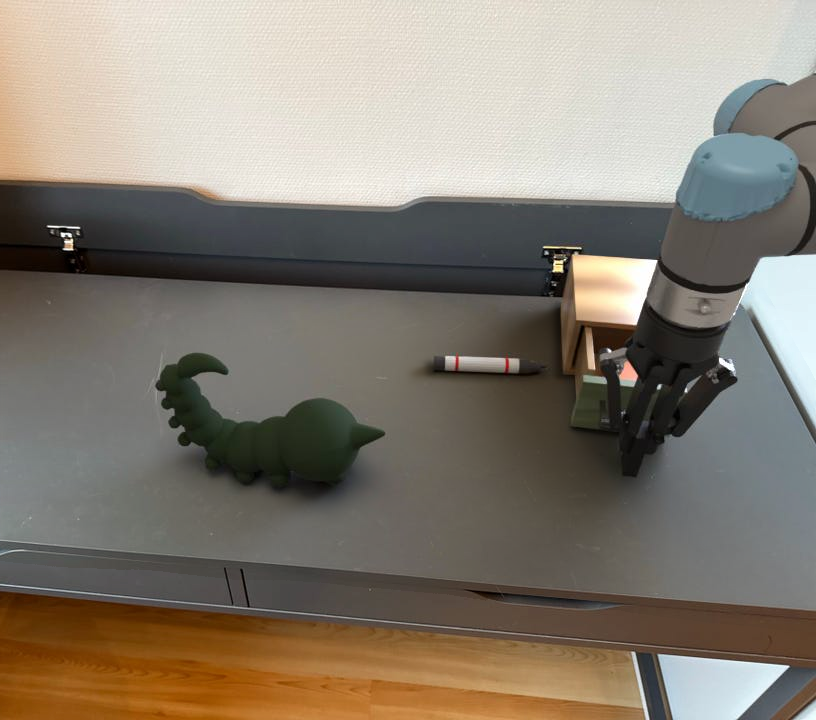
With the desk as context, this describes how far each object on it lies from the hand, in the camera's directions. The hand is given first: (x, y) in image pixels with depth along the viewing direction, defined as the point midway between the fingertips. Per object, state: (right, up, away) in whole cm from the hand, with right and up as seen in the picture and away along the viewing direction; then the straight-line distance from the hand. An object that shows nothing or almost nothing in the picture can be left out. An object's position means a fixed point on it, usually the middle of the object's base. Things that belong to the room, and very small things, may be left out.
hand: (628, 467), depth 80 cm
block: (+2, +8, +9) cm, 13 cm away
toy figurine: (-40, -1, +6) cm, 40 cm away
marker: (-12, +11, +16) cm, 23 cm away
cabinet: (+5, +15, +19) cm, 24 cm away
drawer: (+2, +7, +9) cm, 12 cm away
